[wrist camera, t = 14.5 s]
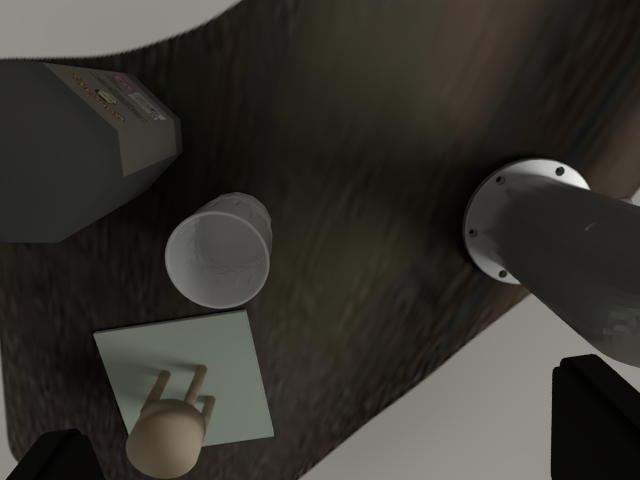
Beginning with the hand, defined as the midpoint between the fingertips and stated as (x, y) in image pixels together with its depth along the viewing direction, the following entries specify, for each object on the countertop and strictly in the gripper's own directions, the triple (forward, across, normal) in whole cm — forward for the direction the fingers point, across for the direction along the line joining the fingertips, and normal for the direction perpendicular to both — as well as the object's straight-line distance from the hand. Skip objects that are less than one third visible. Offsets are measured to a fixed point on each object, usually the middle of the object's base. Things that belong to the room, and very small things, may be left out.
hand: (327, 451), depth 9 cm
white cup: (+34, +8, +4) cm, 36 cm away
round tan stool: (+34, +17, +21) cm, 43 cm away
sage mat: (+34, +17, +21) cm, 44 cm away
